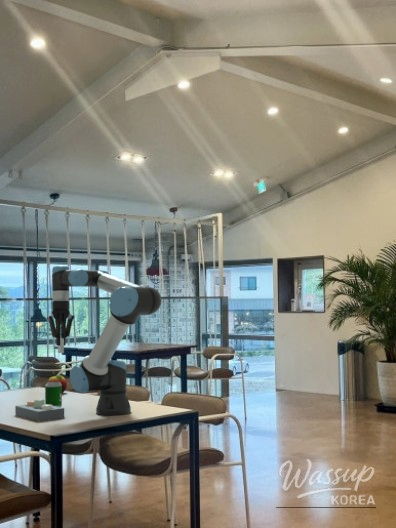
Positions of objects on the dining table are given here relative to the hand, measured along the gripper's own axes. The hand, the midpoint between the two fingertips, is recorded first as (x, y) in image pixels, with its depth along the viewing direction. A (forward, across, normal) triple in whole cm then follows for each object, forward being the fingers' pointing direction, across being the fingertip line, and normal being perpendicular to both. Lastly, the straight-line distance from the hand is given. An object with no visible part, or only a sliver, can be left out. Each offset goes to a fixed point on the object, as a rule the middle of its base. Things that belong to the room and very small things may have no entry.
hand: (60, 352), depth 295 cm
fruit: (+27, -30, -61) cm, 73 cm away
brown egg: (+26, +12, -4) cm, 29 cm away
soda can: (+27, -3, -13) cm, 30 cm away
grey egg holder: (+26, +12, +3) cm, 29 cm away
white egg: (+26, +12, +10) cm, 30 cm away
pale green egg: (+24, +12, +3) cm, 27 cm away
